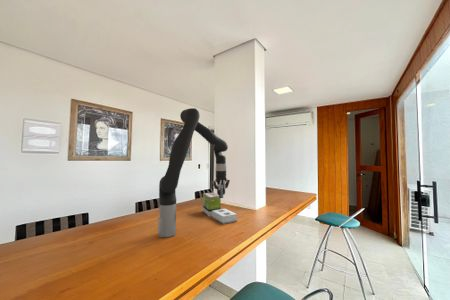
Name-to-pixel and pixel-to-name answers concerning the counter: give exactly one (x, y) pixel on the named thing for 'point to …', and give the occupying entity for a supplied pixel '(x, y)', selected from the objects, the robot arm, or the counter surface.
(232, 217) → the bore block
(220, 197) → the pin
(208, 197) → the tea box
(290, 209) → the counter surface
